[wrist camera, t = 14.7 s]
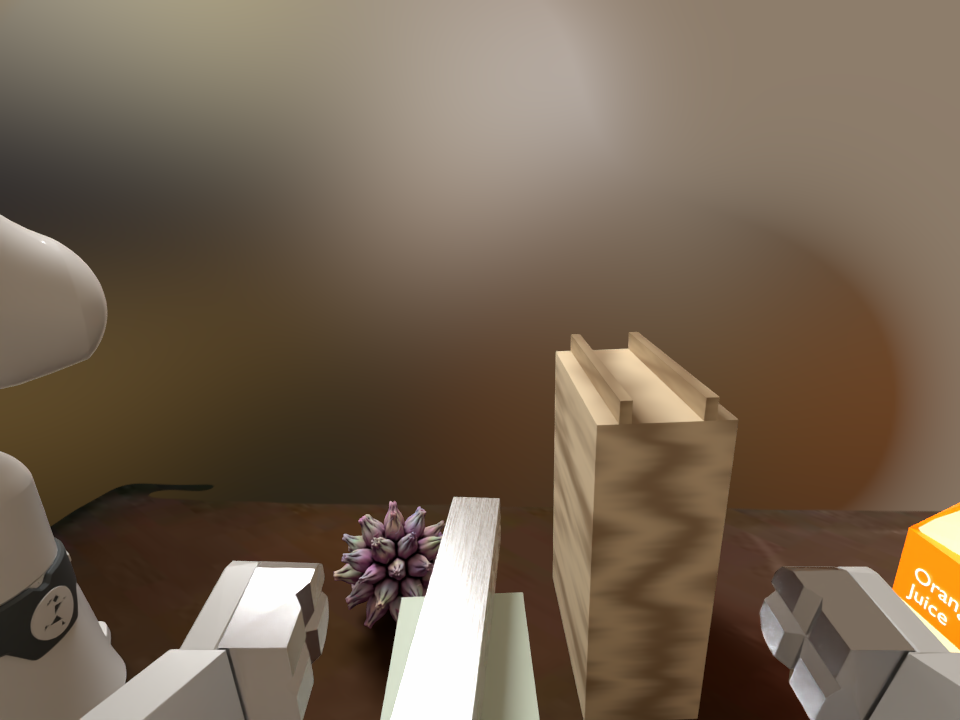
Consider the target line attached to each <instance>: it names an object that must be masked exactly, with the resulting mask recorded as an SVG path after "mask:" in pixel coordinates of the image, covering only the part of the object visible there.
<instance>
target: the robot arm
mask: <svg viewBox="0 0 960 720" xmlns="http://www.w3.org/2000/svg"><path fill="white" fill-rule="evenodd" d="M106 322H107V304H106V299H105V296H104V293H103V290H102V287H101V285H100V283H99V281H98V280H97V278H96V276H95V274H94V273H93V272H92V270H91V269H90V268H89V267H88V265H87V264H86V263H85V262H84V261H83V260H82V259H81V258H80V257H78V256H77V255H76V254H75V253H74V252H73V251H71V250H70V249H69V248H67V247H65V246H64V245H63V244H61V243H59V242H57V241H56V240H54V239H52V238H50V237H46V236H44V235H41V234H39V233H36V232H34V231H31V230H29V229H26V228H24V227H22V226H20V225H18V224H16V223H14V222H12V221H10V220H9V219H7V218H5V217H3V216H2V215H0V389H2V388H6V387H11V386H16V385H19V384H22V383H25V382H28V381H30V380H34V379H36V378H39V377H42V376H45V375H48V374H50V373H53V372H56V371H58V370H61V369H63V368H66V367H68V366H71V365H74V364H76V363H79V362H81V361H84V360H86V359H88V358H89V357H90V356H91V355H92V354H93V352H94V351H95V350H96V348H97V346H98V345H99V343H100V341H101V339H102V337H103V334H104V331H105V328H106ZM70 561H71V558H70V556H69V554H68V552H66V550H65V548H64V545H63V544H62V542H61V541H60V540H58V539H56V538H55V537H53V534H52V531H51V528H50V525H49V523H48V520H47V517H46V514H45V511H44V508H43V506H42V503H41V500H40V497H39V494H38V491H37V489H36V486H35V483H34V480H33V477H32V475H31V473H30V471H29V470H28V469H27V468H26V467H25V466H24V465H23V464H22V463H21V462H20V461H18V460H17V459H15V458H14V457H12V456H10V455H8V454H6V453H3V452H0V720H303V717H304V713H305V710H306V706H307V703H308V699H309V696H310V692H311V689H312V686H313V682H314V680H313V673H312V667H311V664H312V663H313V662H314V661H315V660H316V659H317V658H318V657H319V656H320V655H321V654H322V650H323V646H324V642H325V639H326V632H327V625H328V598H327V596H326V595H325V594H324V593H323V592H322V591H321V589H322V586H323V582H324V579H325V577H324V571H323V566H322V564H319V563H295V562H267V561H262V562H254V561H233V562H231V563H230V564H229V565H228V566H227V567H226V568H225V569H224V571H223V573H222V575H221V576H220V578H219V580H218V582H217V584H216V585H215V587H214V589H213V591H212V593H211V594H210V596H209V598H208V600H207V601H206V603H205V605H204V607H203V609H202V610H201V612H200V614H199V616H198V618H197V619H196V621H195V623H194V625H193V626H192V628H191V630H190V632H189V634H188V635H187V637H186V639H185V641H184V643H183V644H182V646H181V648H180V649H172V650H169V651H168V652H166V653H165V654H164V655H162V656H161V657H160V658H158V659H157V660H156V661H155V662H153V663H152V664H151V665H149V666H148V667H147V668H145V669H144V670H143V671H142V672H140V673H139V674H138V675H136V676H135V677H134V678H133V679H131V680H130V681H129V682H127V683H126V684H125V682H126V667H125V664H124V661H123V660H122V658H121V657H120V656H119V655H118V653H117V652H116V651H115V650H114V649H113V647H112V646H111V633H110V630H109V628H108V626H107V624H106V623H105V622H102V621H99V622H98V621H97V619H96V617H95V615H94V613H93V611H92V609H91V607H90V606H89V604H88V602H87V600H86V598H85V596H84V594H83V593H82V591H81V589H80V587H79V585H78V584H77V582H76V576H75V573H74V570H73V568H72V565H71V562H70ZM771 582H772V584H773V586H774V587H775V589H776V591H775V592H774V593H772V594H771V595H770V596H768V597H767V598H766V599H765V600H764V603H763V606H762V609H761V612H760V617H761V628H762V632H763V635H764V637H765V640H766V643H767V645H768V646H769V648H770V650H771V652H772V654H773V655H774V657H775V658H777V659H778V660H779V661H781V662H782V663H783V664H784V665H786V666H787V667H788V668H789V669H790V675H789V683H790V685H791V687H792V688H793V690H794V692H795V694H796V695H797V697H798V699H799V700H800V702H801V704H802V706H803V707H804V709H805V711H806V712H807V714H808V716H809V718H810V719H811V720H960V653H957V652H950V651H949V650H948V649H947V648H946V647H945V646H944V645H943V644H942V643H941V642H940V640H939V639H938V638H937V637H936V636H935V635H934V634H933V633H932V632H931V631H930V630H929V629H928V627H927V626H926V625H925V624H924V623H923V622H922V621H921V620H920V619H919V618H918V617H917V616H916V614H915V613H914V612H913V611H912V610H911V609H910V608H909V607H908V606H907V605H906V604H905V602H904V601H903V600H902V599H901V598H900V597H899V596H898V595H897V594H896V593H895V592H894V591H893V589H892V588H891V587H890V586H889V585H888V584H887V583H886V582H885V581H884V580H883V579H882V578H881V576H880V575H879V574H878V573H876V572H875V571H873V570H872V569H870V568H868V567H781V568H780V569H778V570H777V571H776V572H775V574H774V577H773V579H772V581H771Z"/></svg>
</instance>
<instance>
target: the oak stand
mask: <svg viewBox="0 0 960 720" xmlns="http://www.w3.org/2000/svg"><path fill="white" fill-rule="evenodd" d="M737 427H738V419H737V418H736V417H735V416H733V415H732V414H731V413H730V412H728V411H727V410H726V409H725V408H723V406H721V405H720V404H719V396H717V395H716V394H715V393H714V392H712V391H711V390H710V389H709V388H707V387H706V386H705V385H704V384H702V383H701V382H700V381H699V380H697V379H696V378H695V377H693V376H692V375H691V374H690V373H688V372H687V371H686V370H685V369H684V368H682V367H681V366H680V365H678V364H677V363H676V362H675V361H673V360H672V359H671V358H669V357H668V356H667V355H666V354H665V353H663V352H662V351H661V350H660V349H658V348H657V347H656V346H655V345H653V344H652V343H651V342H650V341H648V340H647V339H646V338H645V337H643V336H642V335H641V334H640V333H638V332H629V344H628V349H610V350H592V349H591V348H590V347H589V345H588V344H587V343H586V341H585V340H584V339H583V338H582V336H580V334H571V351H557V352H556V380H555V456H554V457H555V459H554V462H555V463H554V530H553V581H554V585H555V590H556V595H557V599H558V604H559V608H560V613H561V618H562V622H563V627H564V631H565V636H566V641H567V645H568V650H569V654H570V659H571V664H572V668H573V673H574V678H575V682H576V687H577V691H578V696H579V701H580V705H581V710H582V714H583V719H584V720H679V719H698V711H699V704H700V697H701V690H702V682H703V675H704V668H705V660H706V653H707V646H708V639H709V631H710V624H711V617H712V609H713V602H714V595H715V587H716V580H717V573H718V566H719V558H720V551H721V544H722V536H723V529H724V522H725V515H726V507H727V500H728V492H729V485H730V478H731V471H732V463H733V456H734V449H735V442H736V434H737Z"/></svg>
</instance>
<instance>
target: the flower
mask: <svg viewBox="0 0 960 720" xmlns="http://www.w3.org/2000/svg"><path fill="white" fill-rule="evenodd" d="M425 514H426V511H425V510H423V509H421V507H418V508H417V510H416V512H415V513H414V514H413V515H412V516H410V517H409V518H408V519H407V520H406V522H405V523H404V518H403V516H402V514H401V513H400V512H399V510H398V508H397V503H396V502H395V501H394V502H393V503H392V502H391V501H390V504H389V511H388V513H387V515H386V517H385V520H384V525H383V524H382V523H381V522H379V521H378V520H375V519H373V518H372V517H371V516H370V515H368V514H366V515H365V516H362V518H360V520H359V523H360V525H361V527H362V536H350V535H347V534H344V535H343V536H344V538H342V539H343V540H344V541H345V542H346V543H347V544H348V545H349V547H348V548H349V550H348V551H349V552H351V553H349V554H343V557H342V560H341V561H342V562H344V563H347V564H346V565H345V566H344V567H343V568H342V569H340V570H338V571H335V572H333V573H334V574H335V575H334V577H335V581H338V580H342V581H344V582H346V583H349V584H352V585H351V586H352V589H353V590H352V592H351V594H350V595H349V596H348V597H347V598H346V600H347V601H346V602H347V603H348V604H349V605H348V607H349V610H350V609H352V608H353V607H354V606H356V605H358V604H360V603H364V602H366V601H367V600H368V602H367V618H366V621H365V623H364V626H366V627H369V628H370V629H371V628H372V626H373V624H374V623H375V622H376V621H377V620H379V619H380V618H382V617H383V616H384V615H385V614H386V613H387V611H388V609H389V610H390V614H391V616H392V618H393V619H394V620H395V621H396V623H397V622H398V616H399V610H400V604H401V599H402V597H424V596H426V593H427V590H428V586H429V583H430V579H431V576H432V572H433V568H434V565H435V561H436V558H437V554H438V551H439V547H440V543H441V540H442V536H443V535H442V533H441V532H440V531H441V529H442V528H443V527H444V526H445V524H444V521H441V522H439V523H438V524H436V525H432V526H429V527H426V528H425V522H424V517H425Z"/></svg>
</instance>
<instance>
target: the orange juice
mask: <svg viewBox="0 0 960 720" xmlns="http://www.w3.org/2000/svg"><path fill="white" fill-rule="evenodd" d="M893 591H894V592H895V593H896V594H897V595H898V596H899V597H900V598H901V599H902V600H903V601H904V602H905V604H906V605H907V606H908V607H909V608H910V609H911V610H912V611H913V612H914V613H915V614H916V616H917V617H918V618H919V619H920V620H921V621H922V622H923V623H924V624H925V625H926V626H927V627H928V629H929V630H930V631H931V632H932V633H933V634H934V635H935V636H936V637H937V638H938V639H939V640H940V642H941V643H942V644H943V645H944V646H945V647H946V648H947V649H948V650H949V651H950V652H957V653H960V503H958V504H956V505H954V506H952V507H950V508H948V509H946V510H944V511H942V512H940V513H938V514H936V515H934V516H932V517H930V518H928V519H926V520H924V521H922V522H920V523H918V524H916V525H914V526H912V527H910V528H909V530H908V534H907V537H906V541H905V545H904V549H903V552H902V556H901V560H900V563H899V567H898V571H897V574H896V578H895V582H894V585H893Z"/></svg>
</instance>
